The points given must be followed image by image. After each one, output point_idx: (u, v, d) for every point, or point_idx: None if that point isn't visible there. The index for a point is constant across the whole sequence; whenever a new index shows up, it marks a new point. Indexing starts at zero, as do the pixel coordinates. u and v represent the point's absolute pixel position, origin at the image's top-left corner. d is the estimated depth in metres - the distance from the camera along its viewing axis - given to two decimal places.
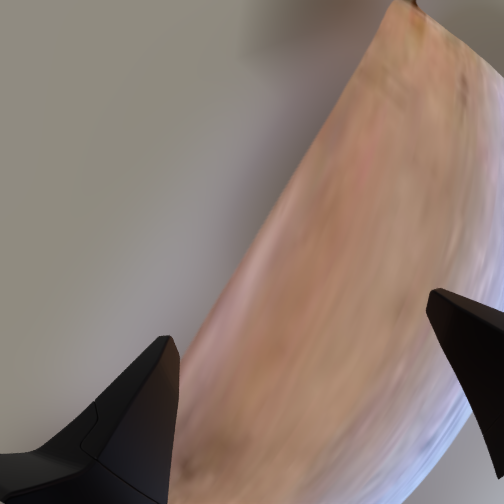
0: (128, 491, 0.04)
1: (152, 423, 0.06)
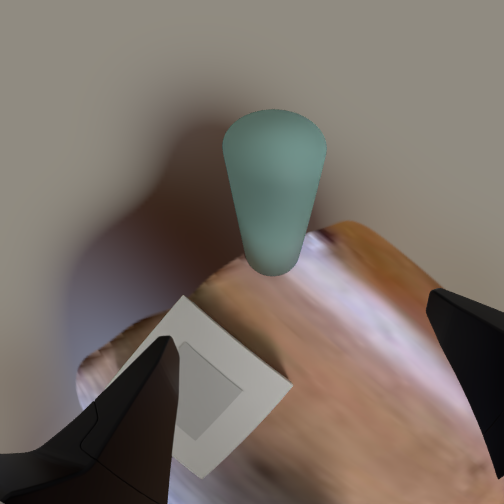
0: (128, 490, 0.04)
1: (152, 423, 0.06)
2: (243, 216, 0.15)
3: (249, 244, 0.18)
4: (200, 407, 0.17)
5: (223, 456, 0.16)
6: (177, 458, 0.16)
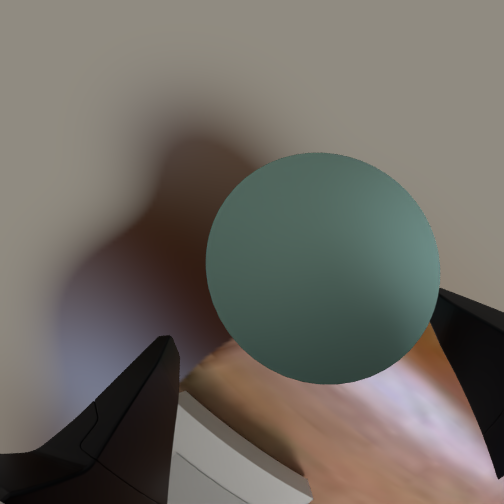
0: (128, 491, 0.04)
1: (152, 423, 0.06)
2: None
3: None
4: None
5: None
6: None
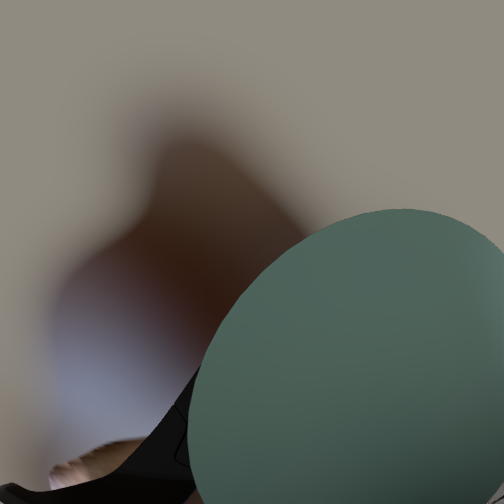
0: None
1: None
2: None
3: None
4: None
5: None
6: None
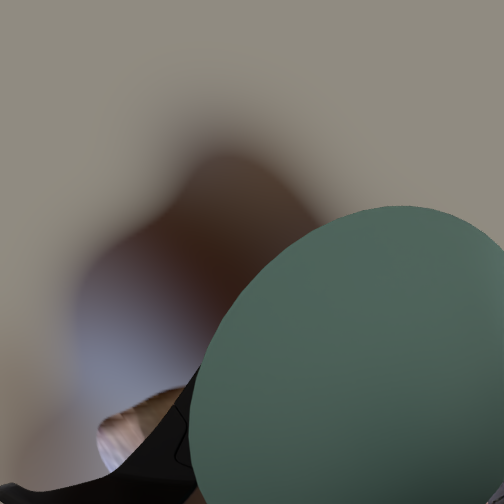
0: None
1: None
2: None
3: None
4: None
5: None
6: None
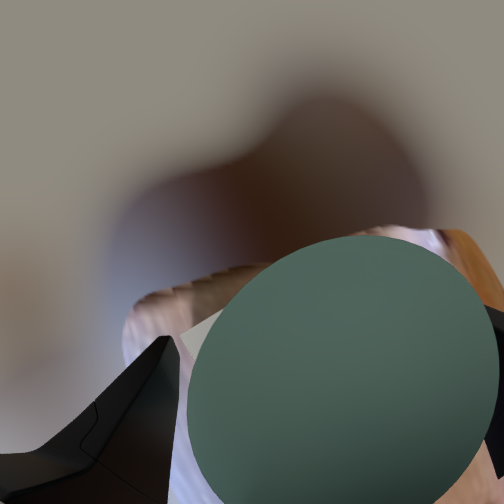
0: (128, 490, 0.04)
1: (152, 423, 0.06)
2: None
3: None
4: None
5: None
6: None
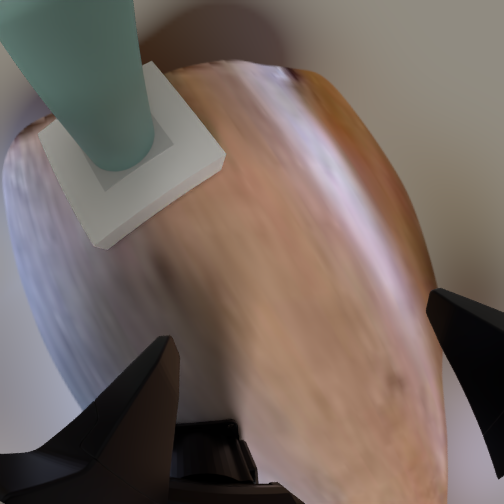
0: (128, 490, 0.04)
1: (152, 423, 0.06)
2: (33, 87, 0.06)
3: None
4: None
5: (127, 216, 0.16)
6: (77, 213, 0.15)
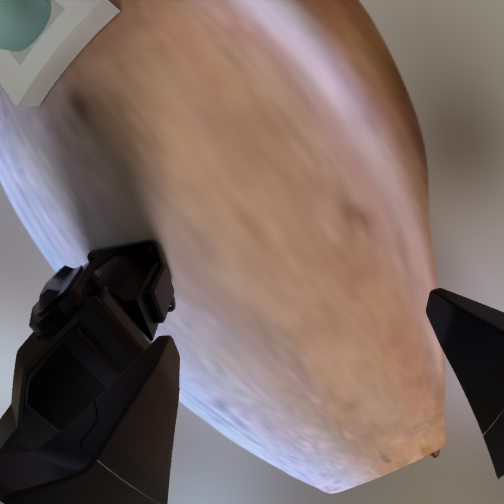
0: (128, 490, 0.04)
1: (152, 423, 0.06)
2: None
3: None
4: None
5: (35, 75, 0.12)
6: (5, 89, 0.12)
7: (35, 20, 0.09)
